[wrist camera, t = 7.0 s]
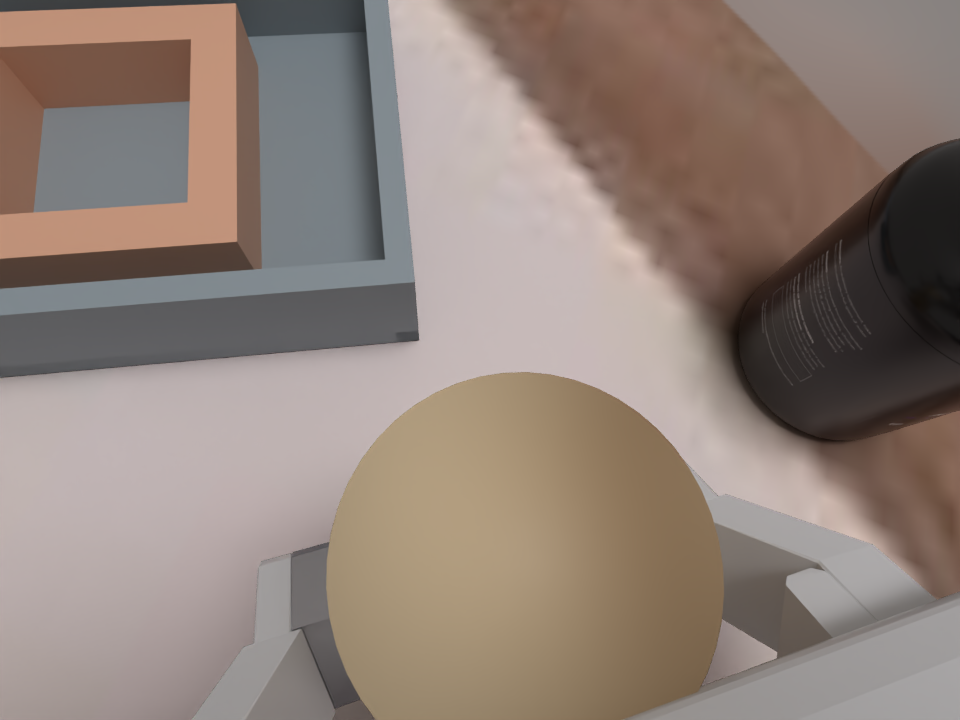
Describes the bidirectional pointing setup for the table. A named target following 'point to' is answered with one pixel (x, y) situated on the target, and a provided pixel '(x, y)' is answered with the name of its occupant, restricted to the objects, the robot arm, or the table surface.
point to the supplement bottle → (867, 311)
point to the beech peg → (523, 559)
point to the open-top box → (198, 182)
